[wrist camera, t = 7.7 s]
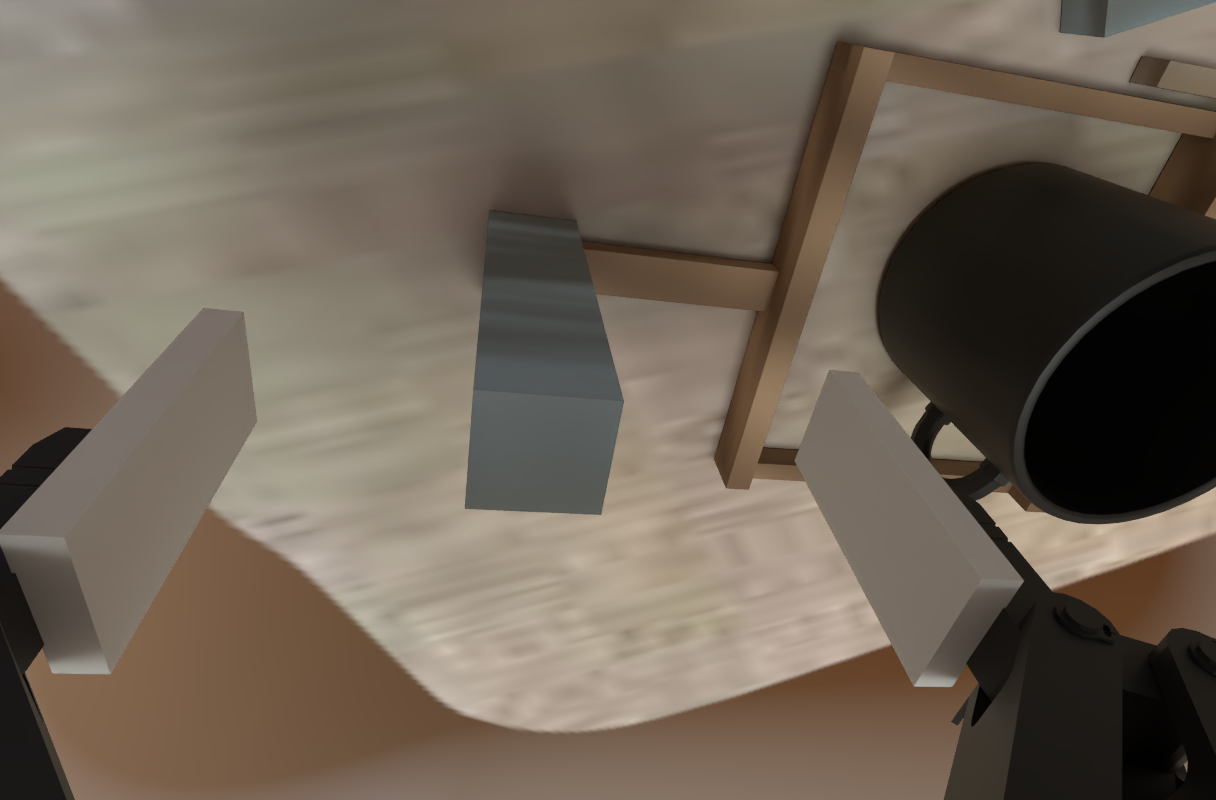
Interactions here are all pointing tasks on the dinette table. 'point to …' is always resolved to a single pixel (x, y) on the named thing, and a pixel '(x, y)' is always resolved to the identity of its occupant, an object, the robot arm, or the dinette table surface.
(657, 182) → the dinette table surface
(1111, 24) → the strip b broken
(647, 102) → the dinette table surface
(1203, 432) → the mug
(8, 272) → the dinette table surface
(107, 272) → the dinette table surface
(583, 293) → the wooden frame with post
